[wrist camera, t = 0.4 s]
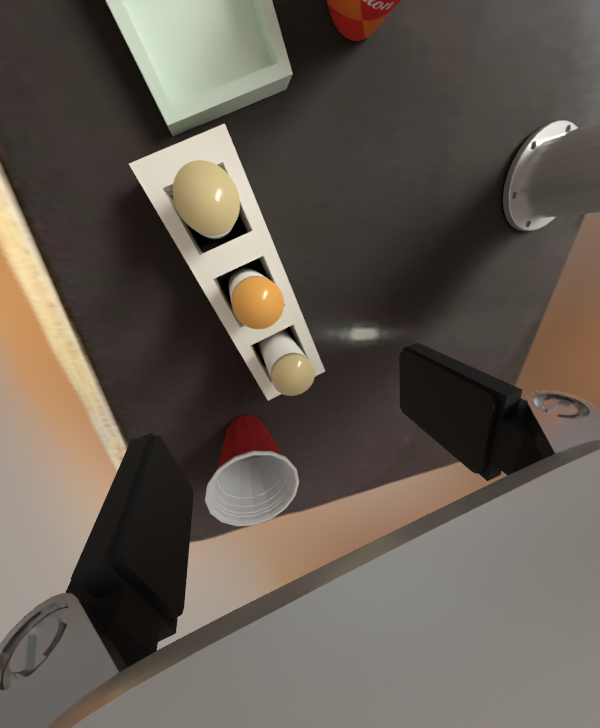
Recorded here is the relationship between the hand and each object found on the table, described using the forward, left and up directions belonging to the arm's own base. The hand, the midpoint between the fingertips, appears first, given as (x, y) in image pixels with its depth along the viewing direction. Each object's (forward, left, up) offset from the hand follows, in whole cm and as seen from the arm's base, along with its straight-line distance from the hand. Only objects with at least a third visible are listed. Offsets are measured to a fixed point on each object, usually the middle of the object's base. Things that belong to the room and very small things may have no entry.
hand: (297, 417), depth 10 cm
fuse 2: (-1, +7, -25) cm, 26 cm away
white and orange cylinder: (-1, -1, -25) cm, 25 cm away
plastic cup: (+9, +18, -25) cm, 32 cm away
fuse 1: (-1, -9, -25) cm, 27 cm away
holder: (-1, -1, -25) cm, 25 cm away
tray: (-7, -22, -25) cm, 34 cm away
